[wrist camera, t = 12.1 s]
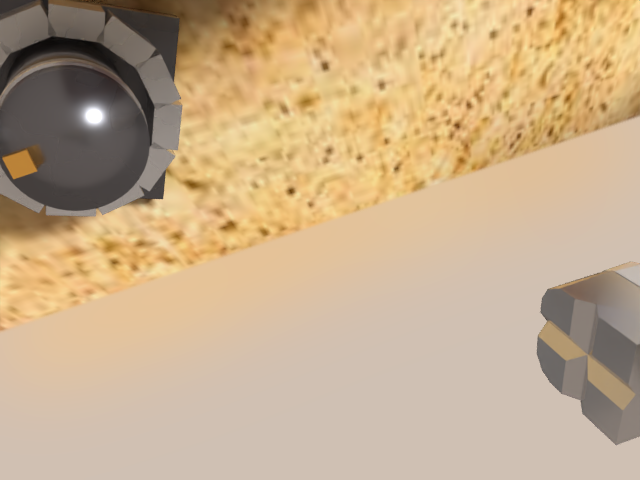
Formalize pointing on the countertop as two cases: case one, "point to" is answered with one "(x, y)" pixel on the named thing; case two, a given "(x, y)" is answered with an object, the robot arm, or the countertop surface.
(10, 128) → the lens
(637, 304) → the robot arm
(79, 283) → the countertop surface
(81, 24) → the mount
